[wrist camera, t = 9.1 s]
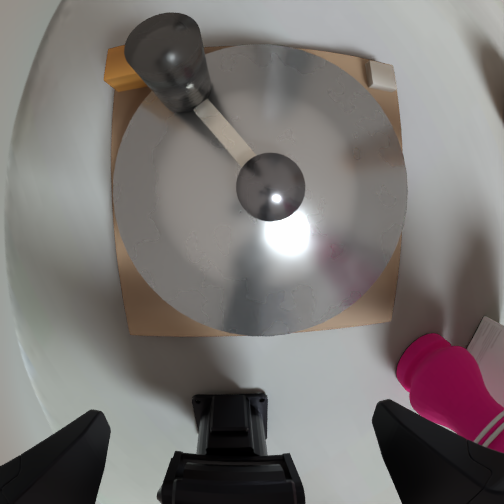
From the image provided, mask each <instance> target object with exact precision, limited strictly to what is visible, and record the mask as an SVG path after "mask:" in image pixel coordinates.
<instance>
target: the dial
mask: <svg viewBox="0 0 504 504" xmlns="http://www.w3.org/2000/svg"><path fill="white" fill-rule="evenodd" d="M124 55H125V59H126V61H127V62H128V64H129V65H130V66H131V67H132V68H133V70H134V71H135V72H136V73H137V74H138V75H139V76H140V78H141V79H142V80H143V81H144V82H145V83H146V84H147V86H148V87H149V88H150V89H151V90H152V91H151V93H150V94H149V95H148V96H147V97H146V98H145V99H144V101H143V102H142V103H141V105H140V106H139V108H138V109H137V111H136V112H135V114H134V115H133V117H132V118H131V120H130V122H129V125H128V127H127V129H126V131H125V133H124V135H123V138H122V141H121V144H120V147H119V150H118V154H117V157H116V163H115V169H114V176H113V201H114V210H115V217H116V221H117V225H118V229H119V233H120V236H121V239H122V241H123V243H124V246H125V248H126V251H127V253H128V255H129V257H130V259H131V260H132V262H133V264H134V265H135V267H136V269H137V271H138V272H139V273H140V275H141V276H142V277H143V278H144V280H145V281H146V282H147V284H148V285H149V286H150V287H151V288H152V289H153V290H154V291H155V292H156V293H157V294H158V295H159V296H160V297H161V298H162V299H163V300H164V301H165V302H167V303H168V304H169V305H171V306H172V307H173V308H175V309H176V310H177V311H179V312H180V313H182V314H184V315H185V316H187V317H189V318H191V319H192V320H194V321H196V322H198V323H201V324H203V325H206V326H208V327H211V328H213V329H217V330H220V331H224V332H228V333H232V334H239V335H247V336H275V335H283V334H290V333H294V332H298V331H301V330H305V329H308V328H311V327H313V326H316V325H318V324H321V323H323V322H325V321H327V320H329V319H331V318H333V317H335V316H336V315H338V314H340V313H341V312H343V311H344V310H345V309H347V308H348V307H350V306H351V305H352V304H354V303H355V302H356V301H357V300H358V299H359V298H360V297H361V296H363V295H364V294H365V293H366V292H367V291H368V290H369V289H370V287H371V286H372V285H373V284H374V283H375V281H376V280H377V279H378V278H379V277H380V275H381V273H382V272H383V270H384V269H385V267H386V266H387V264H388V263H389V261H390V259H391V257H392V255H393V253H394V250H395V248H396V246H397V244H398V241H399V238H400V235H401V232H402V229H403V224H404V219H405V214H406V208H407V193H408V190H407V173H406V168H405V162H404V157H403V153H402V150H401V147H400V144H399V141H398V138H397V135H396V133H395V131H394V129H393V127H392V125H391V123H390V121H389V119H388V117H387V116H386V114H385V113H384V111H383V109H382V108H381V106H380V105H379V104H378V102H377V101H376V100H375V99H374V98H373V96H372V95H371V94H370V93H369V92H368V90H366V89H365V88H364V87H363V86H362V85H361V84H360V83H359V82H358V81H357V80H356V79H355V78H354V77H352V76H351V75H349V74H348V73H347V72H345V71H344V70H342V69H341V68H340V67H338V66H336V65H335V64H333V63H331V62H329V61H327V60H325V59H323V58H321V57H319V56H316V55H314V54H311V53H308V52H306V51H303V50H299V49H295V48H290V47H286V46H279V45H269V44H251V45H240V46H234V47H228V48H224V49H220V50H217V51H214V52H211V53H208V54H205V52H204V48H203V43H202V38H201V34H200V29H199V27H198V25H197V23H196V22H195V21H194V20H193V19H192V18H191V17H189V16H187V15H184V14H181V13H163V14H159V15H156V16H153V17H151V18H149V19H147V20H145V21H143V22H142V23H141V24H139V25H138V26H137V27H136V28H135V29H134V30H133V31H132V32H131V34H130V35H129V37H128V38H127V41H126V43H125V47H124Z"/></svg>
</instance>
